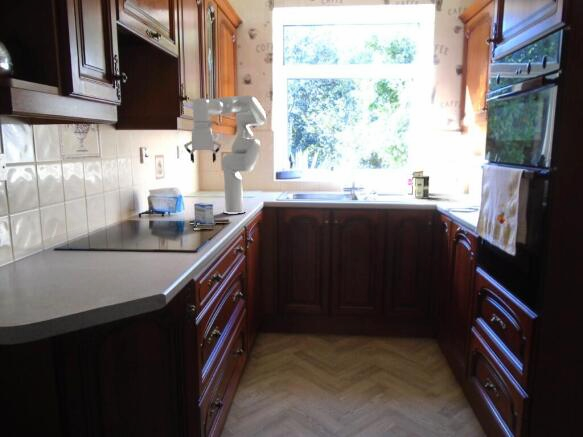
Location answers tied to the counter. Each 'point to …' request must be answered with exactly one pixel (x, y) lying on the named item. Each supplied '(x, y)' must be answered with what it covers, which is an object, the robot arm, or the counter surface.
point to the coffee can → (420, 186)
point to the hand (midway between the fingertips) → (203, 162)
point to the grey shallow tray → (204, 225)
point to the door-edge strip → (215, 220)
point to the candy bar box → (410, 179)
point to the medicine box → (203, 213)
